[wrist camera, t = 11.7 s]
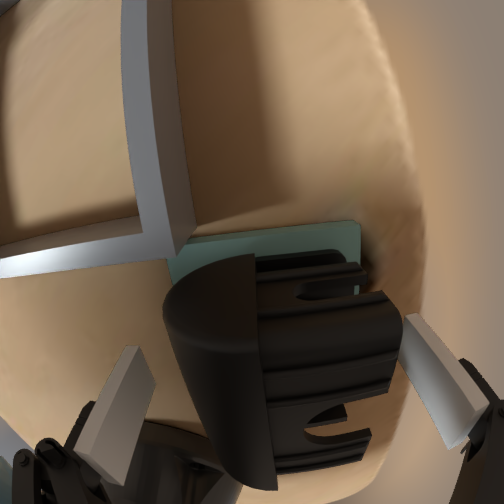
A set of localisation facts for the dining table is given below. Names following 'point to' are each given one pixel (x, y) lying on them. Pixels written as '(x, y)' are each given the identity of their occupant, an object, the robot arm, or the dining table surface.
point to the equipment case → (141, 159)
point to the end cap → (281, 358)
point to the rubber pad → (268, 245)
